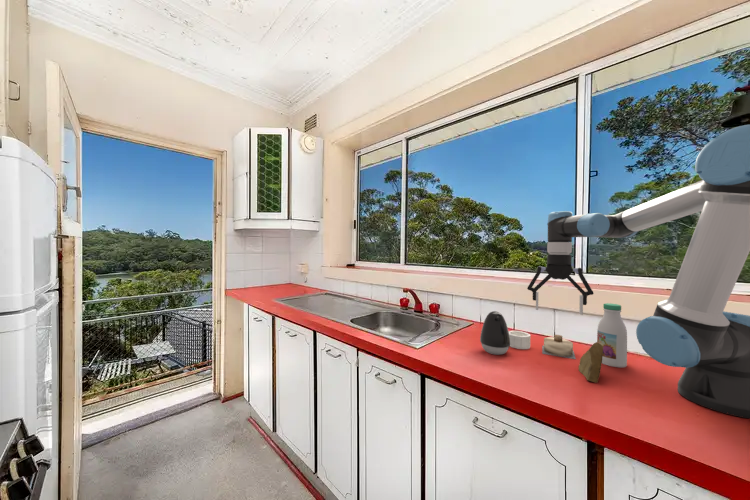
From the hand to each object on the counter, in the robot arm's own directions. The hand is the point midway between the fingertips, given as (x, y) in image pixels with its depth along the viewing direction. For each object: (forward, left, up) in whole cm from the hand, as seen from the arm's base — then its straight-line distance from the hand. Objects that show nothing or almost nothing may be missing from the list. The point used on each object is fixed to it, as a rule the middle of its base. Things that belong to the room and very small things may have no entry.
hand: (558, 311), depth 104 cm
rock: (-17, -7, -16) cm, 24 cm away
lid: (0, 0, -15) cm, 15 cm away
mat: (0, 0, -15) cm, 15 cm away
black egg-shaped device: (-12, +20, -16) cm, 28 cm away
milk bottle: (-2, -15, -16) cm, 22 cm away
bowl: (0, +13, -15) cm, 20 cm away
